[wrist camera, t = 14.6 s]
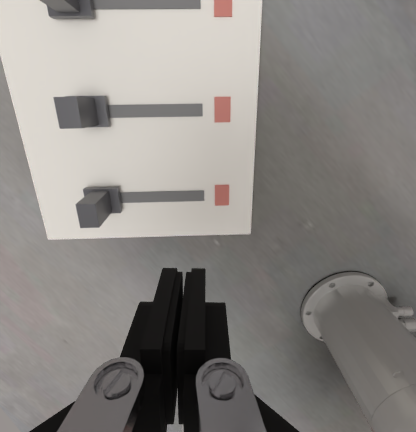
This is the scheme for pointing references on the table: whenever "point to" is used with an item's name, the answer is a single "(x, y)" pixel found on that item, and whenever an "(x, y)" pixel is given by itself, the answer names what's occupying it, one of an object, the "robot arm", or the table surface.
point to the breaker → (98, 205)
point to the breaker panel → (140, 112)
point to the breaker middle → (82, 111)
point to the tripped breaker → (70, 9)
